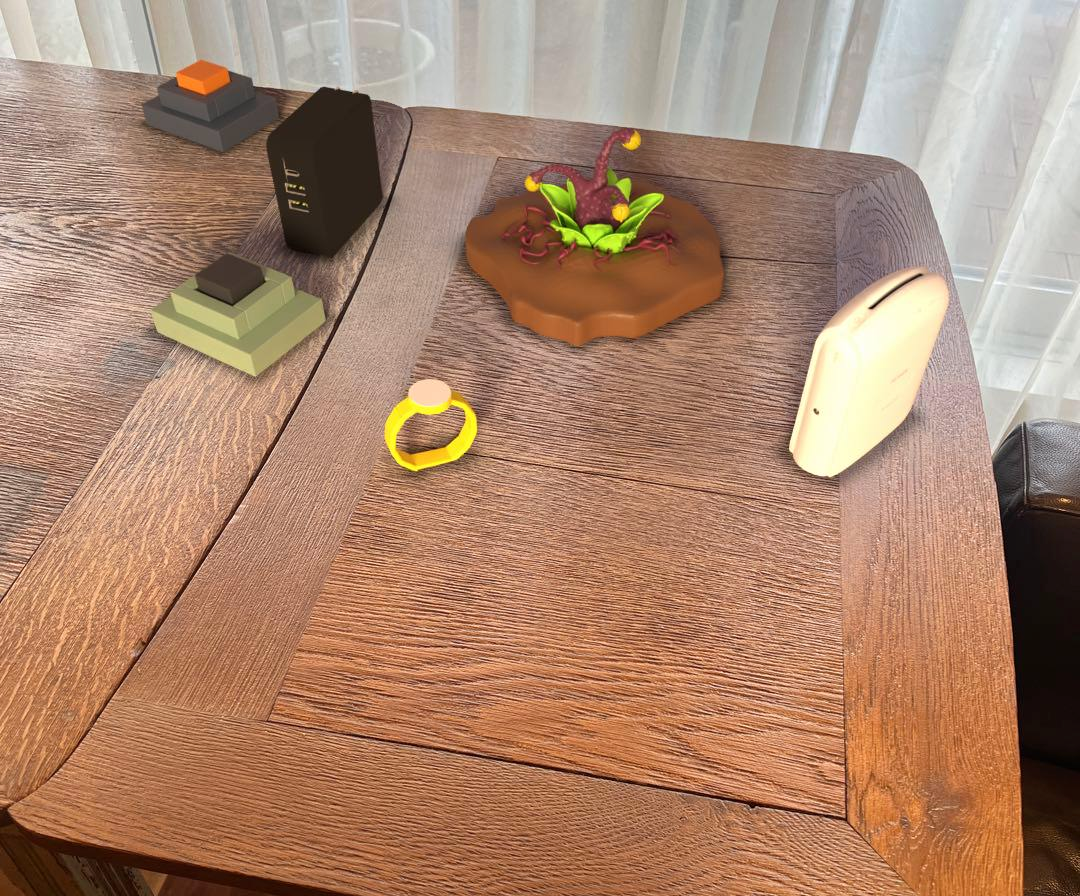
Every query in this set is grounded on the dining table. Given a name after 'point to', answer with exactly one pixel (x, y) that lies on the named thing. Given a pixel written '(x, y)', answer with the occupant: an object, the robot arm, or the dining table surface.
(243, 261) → the key
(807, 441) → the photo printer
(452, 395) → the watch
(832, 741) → the dining table surface
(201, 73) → the key
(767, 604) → the dining table surface
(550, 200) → the plant
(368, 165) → the electronic device
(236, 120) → the grey orange stepped button
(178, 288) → the green stepped button
